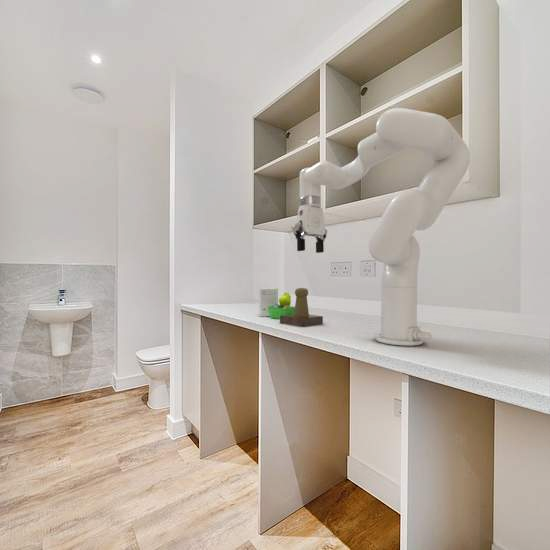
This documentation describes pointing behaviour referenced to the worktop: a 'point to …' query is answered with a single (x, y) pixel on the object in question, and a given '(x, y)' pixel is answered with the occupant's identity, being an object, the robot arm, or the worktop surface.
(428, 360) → the worktop surface
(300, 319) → the block
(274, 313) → the fruit basket
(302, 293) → the olive tapered cylinder
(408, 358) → the worktop surface
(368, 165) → the robot arm
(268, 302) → the small box
